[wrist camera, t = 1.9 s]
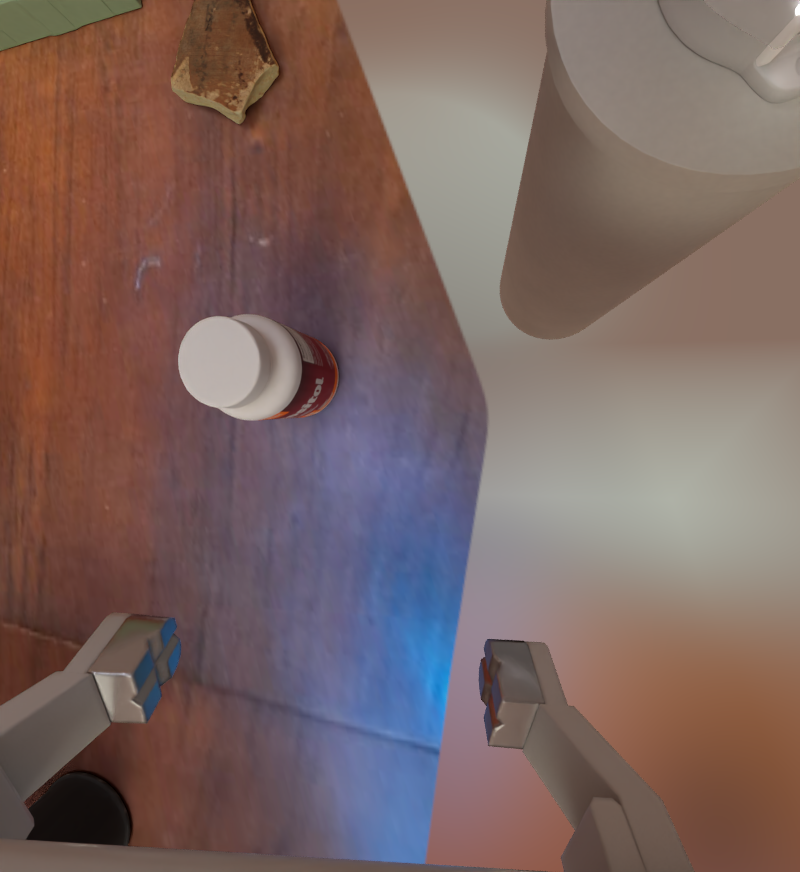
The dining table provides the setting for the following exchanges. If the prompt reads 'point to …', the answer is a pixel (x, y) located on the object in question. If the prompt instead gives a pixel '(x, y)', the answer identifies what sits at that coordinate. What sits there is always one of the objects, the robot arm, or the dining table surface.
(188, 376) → the pill bottle
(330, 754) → the dining table surface
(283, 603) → the dining table surface
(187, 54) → the shard
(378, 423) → the dining table surface
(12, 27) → the socket pad
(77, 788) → the milk frother
